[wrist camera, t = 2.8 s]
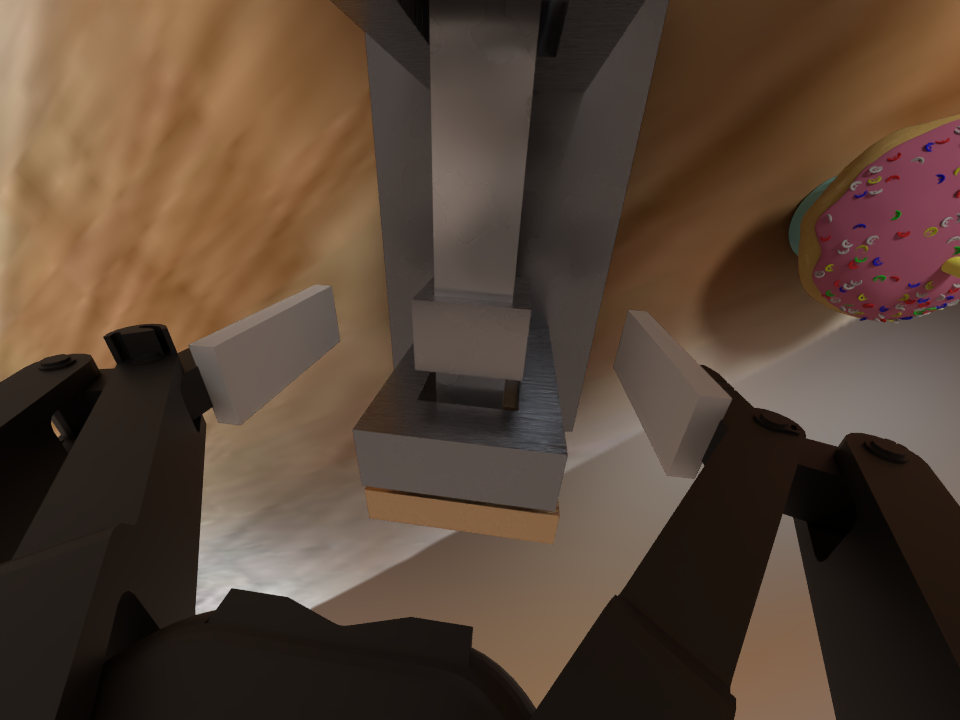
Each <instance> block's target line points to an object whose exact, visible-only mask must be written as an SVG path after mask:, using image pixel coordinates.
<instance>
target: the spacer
mask: <svg viewBox="0 0 960 720" xmlns="http://www.w3.org/2000/svg"><path fill="white" fill-rule="evenodd" d="M503 410H511V411H515V408H514V407H505V406H503ZM365 494H366V500H367V506H368V512H369V518H373V519H380V520H387V521H394V522H401V523H408V524H415V525H422V526H429V527H436V528H443V529H450V530H457V531H464V532H471V533H478V534H485V535H492V536H499V537H506V538H513V539H520V540H527V541H535V542H541V543H548V544H553V542H554V538H555V533H556V529H557V525H558V521H559V517H560V515H559V504H558V501H557V505H556V509H555V512H554V511H547V510H540V509H532V508H525V507H517V506H510V505H503V504H495V503H488V502H480V501H473V500H465V499H458V498H451V497H443V496H436V495H428V494H421V493H414V492H406V491H399V490H391V489H384V488H376V487H369V486H367V487H366V488H365Z"/></svg>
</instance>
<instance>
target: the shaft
mask: <svg viewBox="0 0 960 720" xmlns="http://www.w3.org/2000/svg"><path fill="white" fill-rule="evenodd" d="M541 2H542V1H511V0H429V22H430V77H431V131H432V185H433V240H434V277H433V278H432V279H431V280H430V281H429V282H428V283H427V284H426V285H425V286H424V287H423V288H422V289H421V290H420V291H419V292H418V293H417V294H416V295H415V296H414V297H413V298H412V300H411V302H412V321H413V340H414V359H415V370H420V371H430V372H436V402H439V403H448V404H457V405H466V406H475V407H484V408H493V409H502V410H503V400H504V389H505V379H508V380H517V381H522V380H523V372H524V364H525V355H526V347H527V339H528V331H529V323H530V315H531V289H530V278H518V277H515V274H516V264H517V253H518V243H519V233H520V222H521V212H522V201H523V191H524V180H525V170H526V159H527V149H528V138H529V128H530V118H531V107H532V97H533V86H534V76H535V65H536V55H537V44H538V34H539V23H540V13H541Z"/></svg>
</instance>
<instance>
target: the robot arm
mask: <svg viewBox="0 0 960 720" xmlns="http://www.w3.org/2000/svg"><path fill="white" fill-rule="evenodd" d="M103 338H104V339H105V341H106V343H107V345H108V347H109V349H110V351H111V353H112V355H113V357H114V359H115V361H116V363H117V365H116V367H115V368H113V369H98V367H97V365H96V363H95V362H94V360H93V358H92V357H91V355H88V354H69V355H65V354H61V355H55V356H51V357H47V358H44V359H43V360H41V361H39V362H36V363H33V364H31V365H29V366H27V367H25V368H23V369H21V370H20V371H18V372H16V373H15V374H13V375H12V376H10V377H8V378H7V379H5V380H3V381H2V382H0V720H734V717H735V712H736V698H735V697H734V696H733V695H732V694H730V686H731V682H732V678H733V674H734V671H735V668H736V664H737V661H738V658H739V655H740V652H741V648H742V645H743V642H744V638H745V635H746V632H747V629H748V625H749V622H750V619H751V616H752V612H753V609H754V606H755V602H756V599H757V596H758V593H759V589H760V586H761V583H762V579H763V576H764V573H765V570H766V566H767V563H768V560H769V556H770V553H771V550H772V546H773V543H774V540H775V537H776V533H777V530H778V527H779V524H780V520H781V517H782V514H785V515H788V516H792V517H793V519H794V523H795V528H796V533H797V537H798V542H799V546H800V552H801V556H802V561H803V566H804V570H805V575H806V579H807V584H808V589H809V594H810V599H811V603H812V608H813V612H814V617H815V622H816V627H817V631H818V636H819V641H820V645H821V650H822V655H823V660H824V664H825V669H826V674H827V678H828V683H829V688H830V693H831V697H832V702H833V707H834V711H835V716H836V720H960V506H959V505H958V503H957V502H956V501H955V499H954V498H953V497H952V496H951V494H950V493H949V492H948V491H947V489H946V488H945V486H944V485H943V484H942V482H941V481H940V480H939V478H938V477H937V476H936V475H935V473H934V472H933V471H932V469H931V468H930V467H929V465H928V464H927V463H926V462H925V461H924V460H923V459H922V458H920V457H919V456H918V455H916V454H914V453H913V452H911V451H909V450H908V449H907V448H906V447H905V446H903V445H901V444H896V442H894V441H891V440H888V439H882V438H879V437H876V436H873V435H868V434H864V433H850V434H848V435H846V436H845V438H844V439H843V440H842V442H841V443H840V445H839V446H838V447H836V446H833V445H828V444H825V443H821V442H818V441H814V440H810V439H806V434H805V431H804V430H803V429H802V428H801V427H800V426H799V425H798V424H797V423H795V422H794V421H792V420H791V419H789V418H787V417H784V416H782V415H780V414H778V413H775V412H772V411H769V410H765V409H760V408H754V407H753V406H752V405H751V404H750V403H748V402H747V401H746V400H745V399H744V398H743V397H742V396H741V395H740V394H739V393H738V392H737V391H735V390H734V388H733V387H732V386H731V385H730V384H729V383H727V381H726V380H725V379H724V378H723V377H722V376H721V375H719V374H718V373H717V372H715V371H713V370H712V369H710V368H708V367H706V366H705V365H699V364H698V363H697V362H696V361H695V360H694V359H693V358H692V357H691V356H690V355H689V354H688V353H687V352H686V351H685V350H684V349H683V348H682V347H681V346H680V345H679V344H678V343H677V342H676V341H675V340H674V339H673V337H672V336H671V335H670V334H669V333H668V332H667V331H666V330H665V329H664V328H663V327H662V326H661V325H660V324H659V323H658V322H657V321H656V320H655V319H654V318H653V317H652V316H651V315H650V314H649V313H648V312H647V311H637V310H628V313H627V316H626V320H625V324H624V328H623V332H622V336H621V339H620V343H619V347H618V351H617V355H616V359H615V362H614V366H613V367H614V369H615V371H616V373H617V375H618V377H619V379H620V381H621V383H622V385H623V388H624V390H625V392H626V394H627V396H628V398H629V400H630V402H631V404H632V406H633V408H634V410H635V412H636V414H637V416H638V418H639V420H640V422H641V424H642V426H643V428H644V430H645V432H646V434H647V436H648V438H649V440H650V442H651V444H652V446H653V448H654V450H655V452H656V454H657V456H658V458H659V461H660V463H661V465H662V467H663V469H664V471H665V473H666V475H667V476H675V477H683V478H692V479H695V477H696V475H697V473H698V471H699V469H700V467H701V464H702V462H703V464H704V468H703V469H702V471H701V472H700V474H699V475H698V477H697V478H696V480H695V481H694V483H693V484H692V486H691V487H690V489H689V490H688V492H687V493H686V495H685V496H684V498H683V500H682V501H681V503H680V504H679V506H678V507H677V509H676V510H675V512H674V513H673V515H672V516H671V518H670V519H669V521H668V522H667V524H666V525H665V527H664V528H663V530H662V531H661V533H660V534H659V536H658V537H657V539H656V540H655V542H654V543H653V545H652V547H651V548H650V550H649V551H648V553H647V554H646V556H645V557H644V559H643V560H642V562H641V563H640V565H639V566H638V568H637V569H636V571H635V572H634V574H633V576H632V577H631V579H630V580H629V581H628V583H627V585H626V586H625V587H624V589H623V590H622V592H621V593H620V594H619V595H618V596H616V595H615V596H614V597H613V598H612V599H611V600H610V602H609V603H608V604H607V606H606V607H605V608H604V610H603V611H602V613H601V614H600V616H599V617H598V619H597V620H596V622H595V623H594V625H593V626H592V628H591V629H590V631H589V632H588V633H587V635H586V636H585V638H584V639H583V641H582V642H581V644H580V645H579V647H578V648H577V650H576V651H575V653H574V654H573V656H572V657H571V659H570V660H569V662H568V663H567V665H566V666H565V668H564V669H563V670H562V672H561V673H560V675H559V677H558V678H557V679H556V681H555V682H554V684H553V685H552V687H551V688H550V690H549V691H548V693H547V695H546V696H545V697H544V699H543V700H542V702H541V703H540V705H539V706H538V708H537V709H536V708H535V706H534V705H533V703H532V702H531V700H530V699H529V697H528V696H527V694H526V693H525V692H524V691H523V689H522V688H521V687H520V686H519V685H518V683H517V682H516V681H515V680H514V679H513V678H512V677H511V676H510V675H509V674H508V673H507V672H506V671H505V670H504V669H503V668H502V667H501V666H500V665H498V664H497V663H496V662H494V661H493V660H491V659H490V658H489V657H487V656H486V655H485V654H483V653H481V652H479V651H477V650H475V649H474V648H471V647H472V633H473V627H470V626H465V625H458V624H452V623H446V622H439V621H433V620H427V619H421V618H414V617H408V618H400V619H393V620H386V621H379V622H372V623H365V624H357V625H350V626H340V625H337V624H335V623H333V622H331V621H329V620H327V619H326V618H324V617H322V616H321V615H319V614H317V613H315V612H313V611H312V610H310V609H308V608H306V607H304V606H303V605H301V604H299V603H297V602H296V601H294V600H292V599H290V598H288V597H283V596H277V595H270V594H264V593H258V592H252V591H245V590H239V589H233V588H232V589H231V590H230V591H229V593H228V594H227V596H226V597H225V598H224V600H223V601H222V602H221V604H220V605H219V607H218V608H217V609H216V610H214V611H210V612H206V613H202V614H198V615H195V605H196V588H197V572H198V555H199V538H200V522H201V505H202V488H203V471H204V455H205V438H206V422H205V420H204V417H203V415H202V414H203V413H205V412H206V411H207V410H209V409H210V408H213V410H214V413H215V415H216V418H217V421H218V423H225V424H234V425H242V424H243V423H244V422H245V421H246V420H248V419H249V418H250V417H251V416H252V415H253V414H255V413H256V412H257V411H258V410H259V409H261V408H262V407H263V406H264V405H265V404H266V403H268V402H269V401H270V400H271V399H272V398H274V397H275V396H276V395H277V394H278V393H279V392H281V391H282V390H283V389H284V388H285V387H287V386H288V385H289V384H290V383H291V382H292V381H294V380H295V379H296V378H297V377H298V376H300V375H301V374H302V373H303V372H304V371H306V370H307V369H308V368H309V367H310V366H311V365H313V364H314V363H315V362H316V361H317V360H319V359H320V358H321V357H322V356H323V355H324V354H326V353H327V352H328V351H329V350H330V349H332V348H333V347H334V346H335V345H336V344H337V343H339V342H340V336H339V330H338V323H337V317H336V310H335V304H334V298H333V291H332V286H328V285H314V286H311V287H309V288H307V289H305V290H303V291H301V292H299V293H297V294H294V295H292V296H290V297H288V298H286V299H284V300H282V301H280V302H278V303H275V304H273V305H271V306H269V307H267V308H265V309H263V310H261V311H259V312H256V313H254V314H252V315H250V316H248V317H246V318H244V319H242V320H240V321H237V322H235V323H233V324H231V325H229V326H227V327H225V328H223V329H221V330H218V331H216V332H214V333H212V334H210V335H208V336H206V337H204V338H202V339H199V340H197V341H195V342H193V343H191V344H189V345H188V346H189V348H188V349H186V350H183V351H181V352H179V353H177V351H176V349H175V346H174V344H173V341H172V339H171V336H170V334H169V332H168V329H167V327H166V326H165V325H162V324H142V325H135V326H130V327H125V328H122V329H118V330H115V331H113V332H110V333H108V334H106V335H105V336H104V337H103ZM51 420H52V422H53V423H54V425H55V426H56V428H57V429H58V431H59V432H60V434H61V435H60V436H59V437H57V436H56V434H55V433H54V431H53V429H52V426H51Z"/></svg>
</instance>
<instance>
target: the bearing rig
mask: <svg viewBox="0 0 960 720" xmlns="http://www.w3.org/2000/svg"><path fill="white" fill-rule="evenodd" d="M330 1H332V2H333V3H334V4H335V5H336V6H337V7H338V8H339V9H340V10H341V11H342V12H344V13H345V14H346V15H347V16H348V17H349V18H350V19H351V20H352V21H353V22H355V23H356V24H357V25H358V26H359V27H360V28H361V29H362V30H363V31H364V32H365V39H366V50H367V62H368V74H369V85H370V97H371V108H372V120H373V132H374V143H375V155H376V166H377V178H378V190H379V201H380V213H381V225H382V236H383V248H384V259H385V271H386V283H387V294H388V306H389V317H390V329H391V341H392V352H393V364H394V371H393V372H392V374H391V375H390V377H389V378H388V380H387V381H386V383H385V384H384V385H383V387H382V388H381V390H380V391H379V393H378V394H377V395H376V397H375V398H374V400H373V401H372V403H371V404H370V405H369V407H368V408H367V410H366V411H365V413H364V414H363V415H362V417H361V418H360V420H359V421H358V423H357V424H356V425H355V427H354V428H353V435H354V441H355V447H356V452H357V458H358V464H359V470H360V476H361V482H362V486H369V487H376V488H384V489H391V490H399V491H406V492H414V493H421V494H428V495H436V496H443V497H451V498H458V499H465V500H473V501H480V502H488V503H495V504H503V505H510V506H517V507H525V508H532V509H540V510H547V511H554V512H555V509H556V505H557V501H558V496H559V491H560V487H561V483H562V478H563V474H564V470H565V465H566V461H567V456H568V454H567V447H566V441H565V434H564V431H571V432H572V430H573V426H574V421H575V417H576V412H577V408H578V403H579V399H580V394H581V390H582V386H583V381H584V377H585V372H586V368H587V363H588V359H589V354H590V350H591V345H592V341H593V337H594V332H595V328H596V323H597V319H598V314H599V310H600V305H601V301H602V296H603V292H604V288H605V283H606V279H607V274H608V270H609V265H610V261H611V256H612V252H613V247H614V243H615V239H616V234H617V230H618V225H619V221H620V216H621V212H622V207H623V203H624V198H625V194H626V190H627V185H628V181H629V176H630V172H631V167H632V163H633V158H634V154H635V149H636V145H637V141H638V136H639V132H640V127H641V123H642V118H643V114H644V109H645V105H646V100H647V96H648V91H649V87H650V83H651V78H652V74H653V69H654V65H655V60H656V56H657V51H658V47H659V42H660V38H661V34H662V29H663V25H664V20H665V16H666V11H667V7H668V2H669V0H511V1H542V2H541V13H540V23H539V34H538V44H537V55H536V65H535V76H534V86H533V97H532V107H531V118H530V128H529V138H528V149H527V159H526V170H525V180H524V191H523V201H522V212H521V222H520V233H519V243H518V253H517V264H516V274H515V277H518V278H530V289H531V315H530V323H529V331H528V339H527V347H526V355H525V364H524V372H523V380H522V381H517V380H508V379H505V389H504V400H503V406H505V407H514V408H515V411H511V410H502V409H493V408H484V407H475V406H466V405H457V404H448V403H439V402H436V372H430V371H420V370H415V359H414V340H413V321H412V302H411V300H412V298H413V297H414V296H415V295H416V294H417V293H418V292H419V291H420V290H421V289H422V288H423V287H424V286H425V285H426V284H427V283H428V282H429V281H430V280H431V279H432V278H433V277H434V240H433V185H432V131H431V77H430V22H429V0H330Z"/></svg>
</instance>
